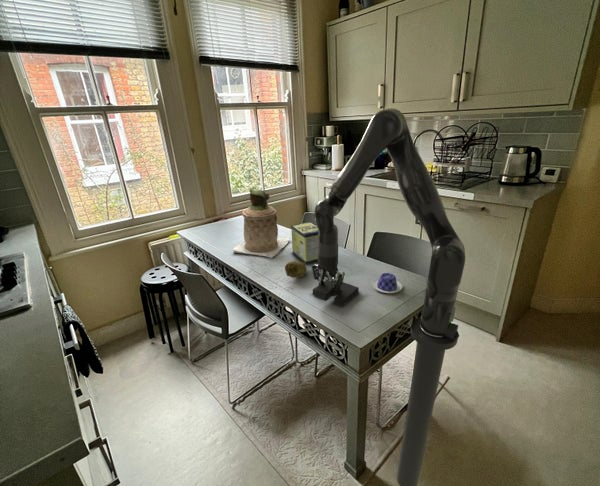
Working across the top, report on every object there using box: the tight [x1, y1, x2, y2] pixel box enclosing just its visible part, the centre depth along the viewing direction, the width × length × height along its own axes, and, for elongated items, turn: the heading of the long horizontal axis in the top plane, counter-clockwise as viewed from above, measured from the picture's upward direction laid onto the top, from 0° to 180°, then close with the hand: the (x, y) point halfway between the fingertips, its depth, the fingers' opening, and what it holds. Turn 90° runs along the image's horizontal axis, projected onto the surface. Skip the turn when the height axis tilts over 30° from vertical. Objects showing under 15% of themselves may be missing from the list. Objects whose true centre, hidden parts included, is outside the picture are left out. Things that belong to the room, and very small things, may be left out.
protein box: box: [290, 221, 318, 265], centre depth 157 cm, size 10×16×16 cm
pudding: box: [371, 272, 403, 294], centre depth 129 cm, size 12×12×5 cm
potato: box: [284, 260, 308, 278], centre depth 140 cm, size 8×13×8 cm, turn 131°
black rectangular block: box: [314, 281, 340, 302], centre depth 121 cm, size 5×10×3 cm, turn 140°
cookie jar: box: [231, 189, 290, 259], centre depth 166 cm, size 25×25×32 cm
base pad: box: [312, 278, 360, 307], centre depth 127 cm, size 14×12×2 cm
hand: (327, 292), depth 122 cm, fingers closed on black rectangular block, 5 cm apart
